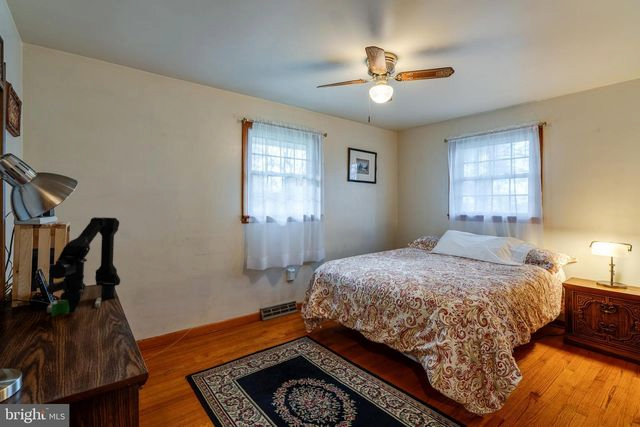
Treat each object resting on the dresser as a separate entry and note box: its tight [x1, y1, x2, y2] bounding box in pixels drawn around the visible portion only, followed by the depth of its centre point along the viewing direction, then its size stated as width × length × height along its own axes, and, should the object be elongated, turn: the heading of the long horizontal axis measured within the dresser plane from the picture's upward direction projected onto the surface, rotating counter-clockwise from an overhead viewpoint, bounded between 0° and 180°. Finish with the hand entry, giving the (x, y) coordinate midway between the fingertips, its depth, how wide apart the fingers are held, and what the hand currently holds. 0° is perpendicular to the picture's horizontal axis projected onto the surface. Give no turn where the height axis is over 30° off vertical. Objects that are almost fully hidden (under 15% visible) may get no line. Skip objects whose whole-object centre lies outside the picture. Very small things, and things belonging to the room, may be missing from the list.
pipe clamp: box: [51, 300, 78, 317], centre depth 127 cm, size 11×4×5 cm, turn 3°
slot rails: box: [46, 296, 102, 314], centre depth 134 cm, size 12×18×2 cm
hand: (72, 311), depth 124 cm, fingers closed
